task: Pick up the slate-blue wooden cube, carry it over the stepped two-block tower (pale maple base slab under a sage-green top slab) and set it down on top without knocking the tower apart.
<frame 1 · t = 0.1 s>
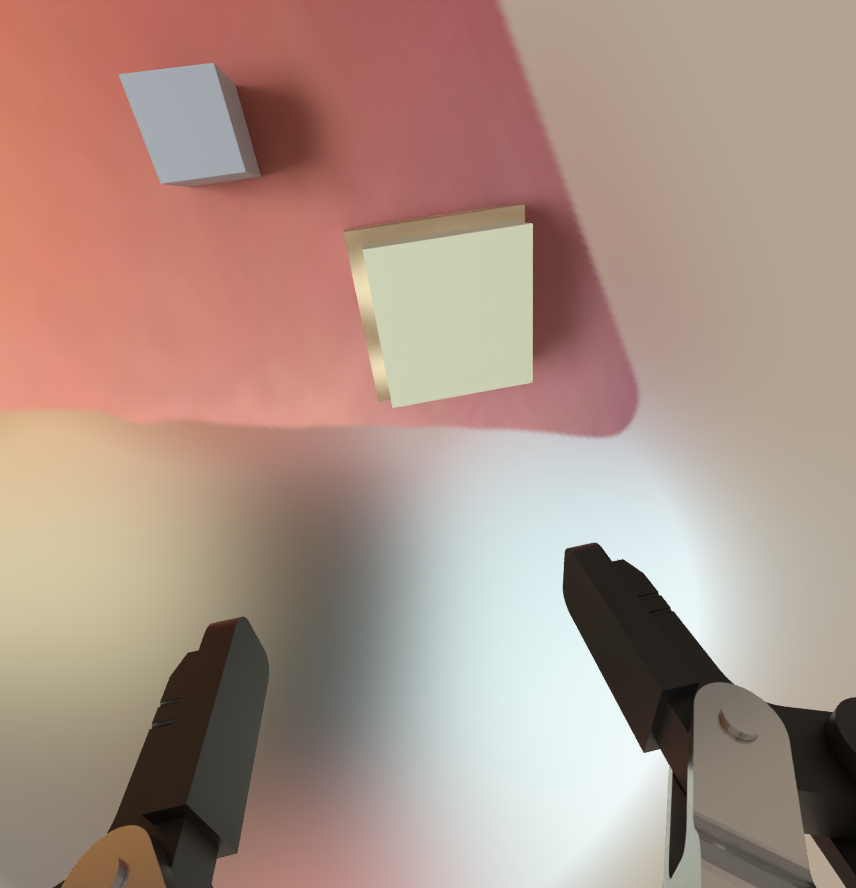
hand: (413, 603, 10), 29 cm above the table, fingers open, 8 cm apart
slate cube: (211, 138, 28), on the table
top block: (445, 310, 32), point 3 cm above the table
base block: (436, 301, 36), on the table
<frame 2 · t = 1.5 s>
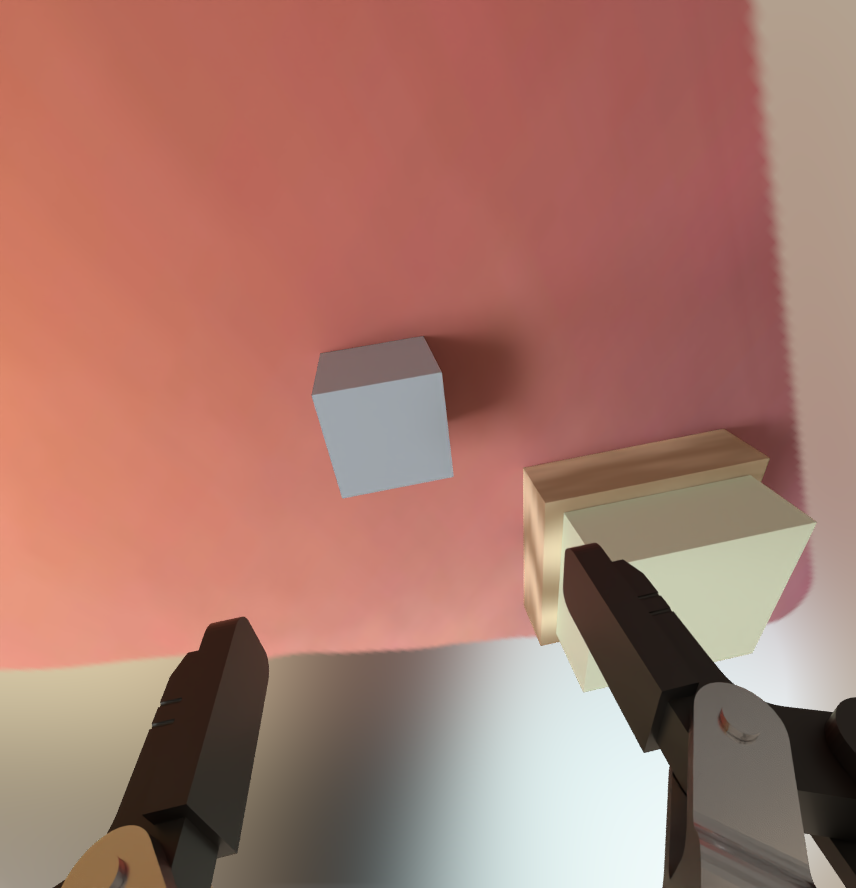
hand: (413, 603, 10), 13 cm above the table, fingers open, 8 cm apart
slate cube: (381, 391, 21), on the table
top block: (643, 561, 26), point 3 cm above the table
base block: (609, 520, 30), on the table
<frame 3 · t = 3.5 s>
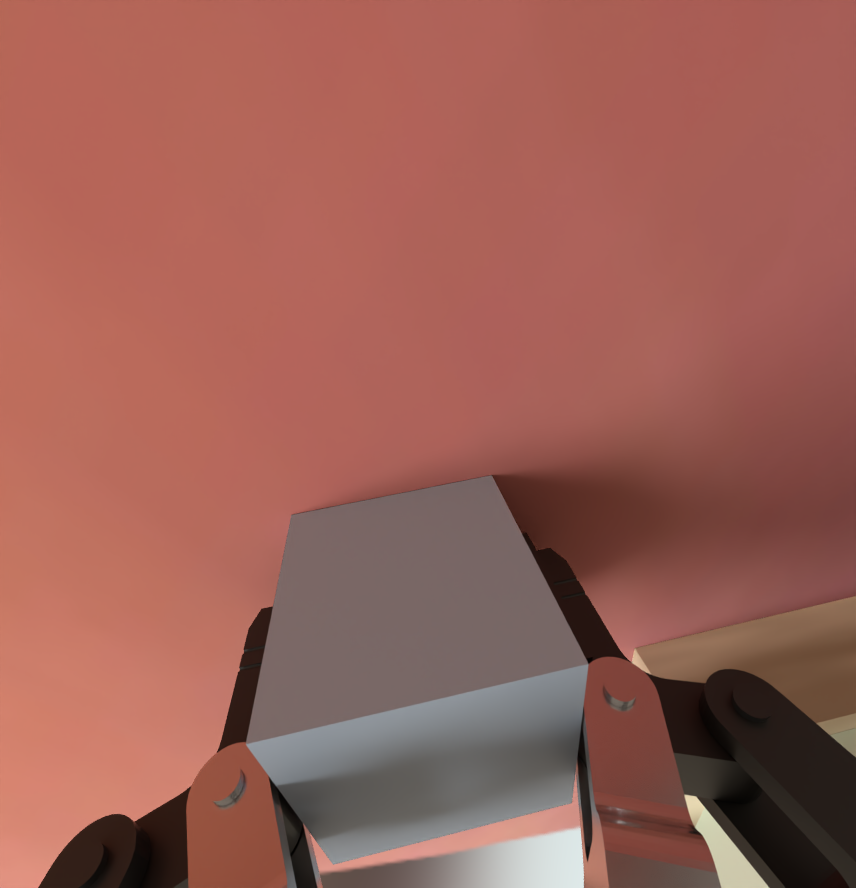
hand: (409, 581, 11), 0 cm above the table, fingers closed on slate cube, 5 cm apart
slate cube: (408, 565, 12), on the table, touching gripper
top block: (827, 791, 16), point 3 cm above the table, touching base block
base block: (741, 689, 20), on the table, touching top block
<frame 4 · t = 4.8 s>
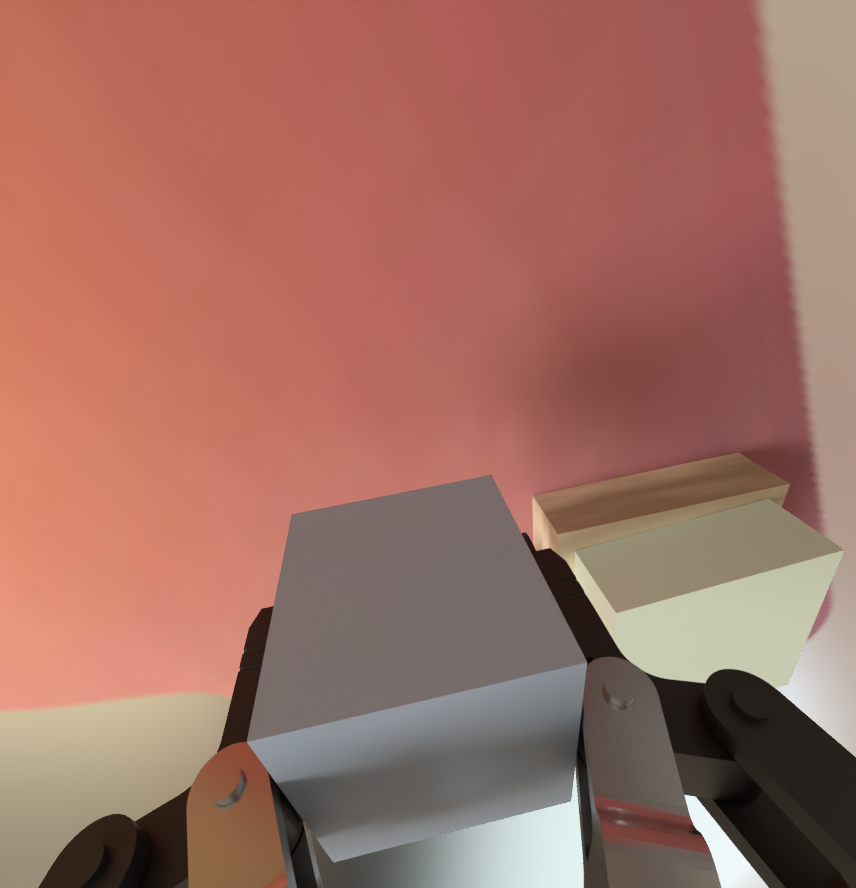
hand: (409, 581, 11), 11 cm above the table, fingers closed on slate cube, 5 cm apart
slate cube: (408, 565, 12), point 10 cm above the table, touching gripper
top block: (663, 592, 25), point 3 cm above the table
base block: (621, 547, 28), on the table
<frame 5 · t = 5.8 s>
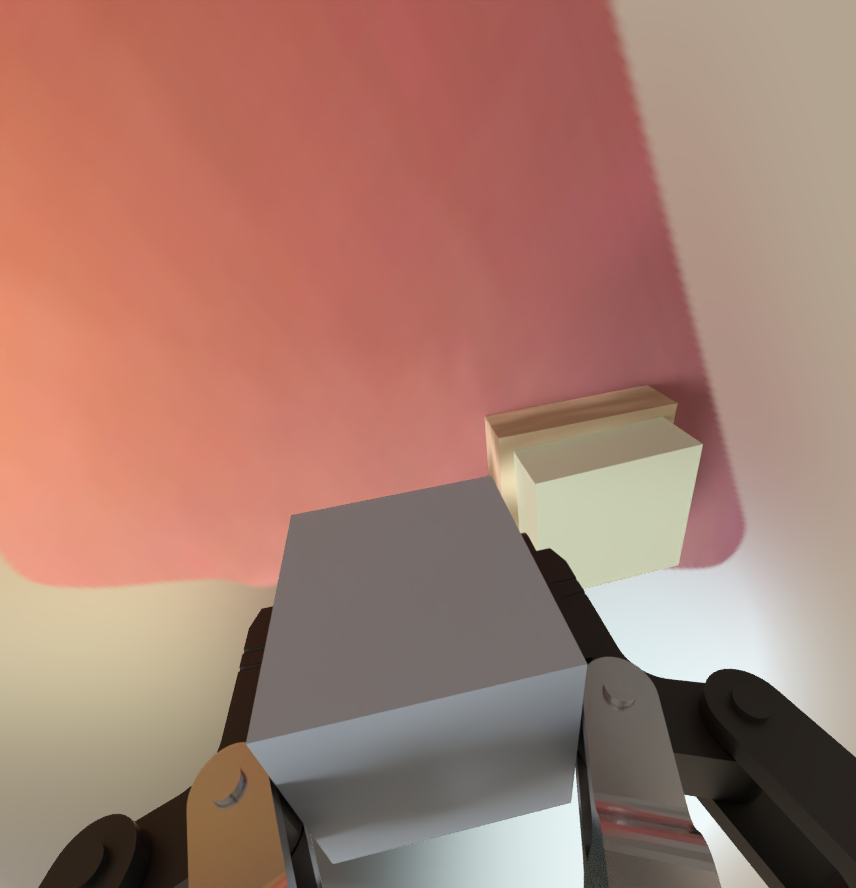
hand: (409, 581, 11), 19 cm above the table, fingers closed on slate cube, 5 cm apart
slate cube: (408, 566, 12), point 19 cm above the table, touching gripper
top block: (586, 494, 32), point 3 cm above the table, touching base block
base block: (561, 466, 36), on the table, touching top block
when the fingers open (10 cm above the table, at t = 8.9 s): slate cube drops 2 cm, resting on top block.
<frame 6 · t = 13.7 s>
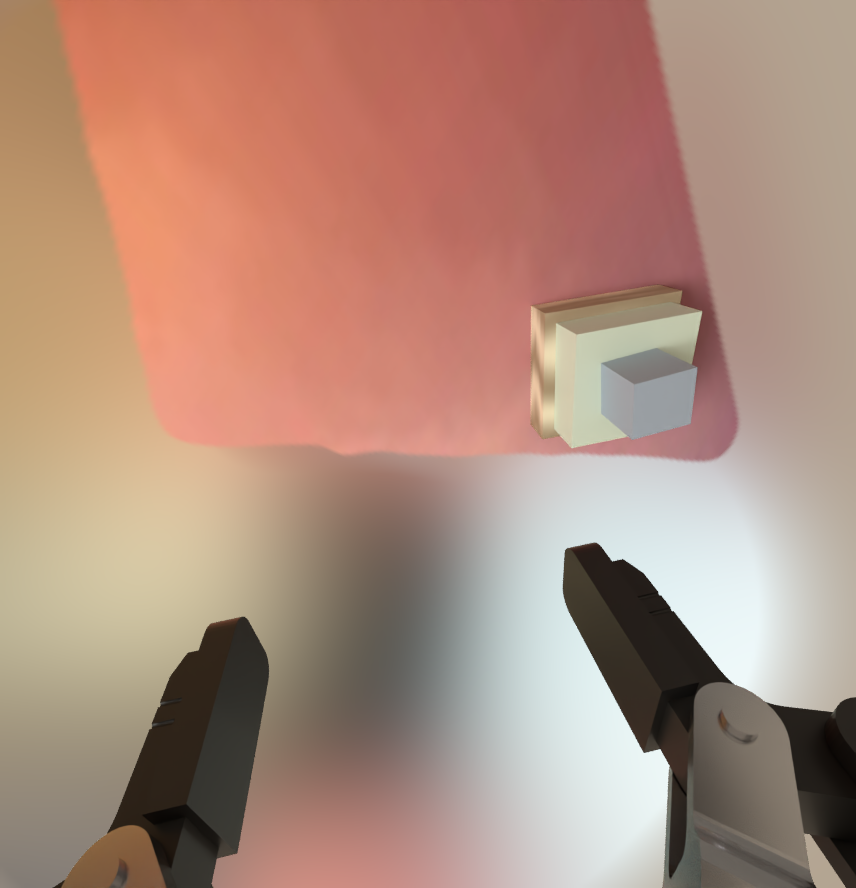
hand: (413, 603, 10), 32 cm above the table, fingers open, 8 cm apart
slate cube: (627, 381, 37), point 7 cm above the table, touching top block
top block: (609, 369, 41), point 3 cm above the table, touching base block, slate cube
base block: (587, 357, 44), on the table, touching top block
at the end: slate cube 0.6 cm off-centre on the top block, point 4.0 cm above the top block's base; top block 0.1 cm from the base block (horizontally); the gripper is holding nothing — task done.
